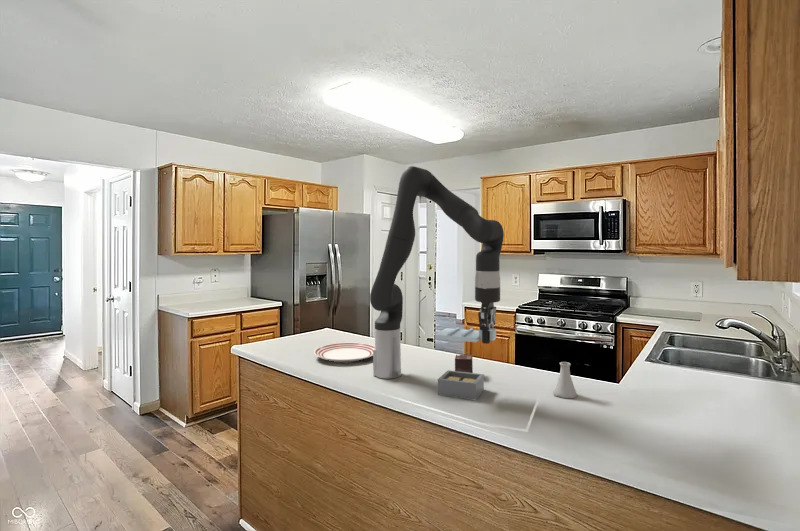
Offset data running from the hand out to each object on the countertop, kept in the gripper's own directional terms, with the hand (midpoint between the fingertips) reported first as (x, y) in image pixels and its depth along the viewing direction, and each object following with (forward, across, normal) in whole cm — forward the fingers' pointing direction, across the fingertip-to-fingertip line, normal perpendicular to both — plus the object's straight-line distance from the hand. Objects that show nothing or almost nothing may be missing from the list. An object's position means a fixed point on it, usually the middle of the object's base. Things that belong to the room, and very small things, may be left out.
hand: (487, 341), depth 132 cm
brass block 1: (+17, 0, -11) cm, 20 cm away
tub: (+17, 0, -8) cm, 19 cm away
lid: (-1, 0, -6) cm, 6 cm away
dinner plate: (+18, -26, -66) cm, 74 cm away
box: (+18, -17, -12) cm, 28 cm away
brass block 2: (+17, 0, -6) cm, 18 cm away
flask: (+17, -11, +22) cm, 30 cm away
